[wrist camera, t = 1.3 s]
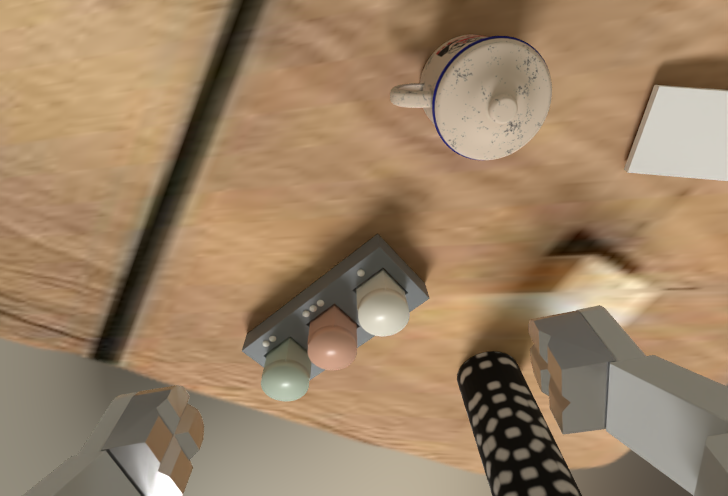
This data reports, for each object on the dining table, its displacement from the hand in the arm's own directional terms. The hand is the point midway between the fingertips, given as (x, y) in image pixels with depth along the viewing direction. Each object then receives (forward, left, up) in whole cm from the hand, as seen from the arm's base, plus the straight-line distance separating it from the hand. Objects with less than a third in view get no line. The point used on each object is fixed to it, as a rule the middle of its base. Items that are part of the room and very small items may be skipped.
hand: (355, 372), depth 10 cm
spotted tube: (+12, -38, -35) cm, 53 cm away
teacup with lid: (+10, 0, -35) cm, 36 cm away
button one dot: (0, -20, -32) cm, 38 cm away
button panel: (-6, -23, -35) cm, 43 cm away
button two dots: (-12, -27, -32) cm, 44 cm away
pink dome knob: (-6, -23, -32) cm, 41 cm away
